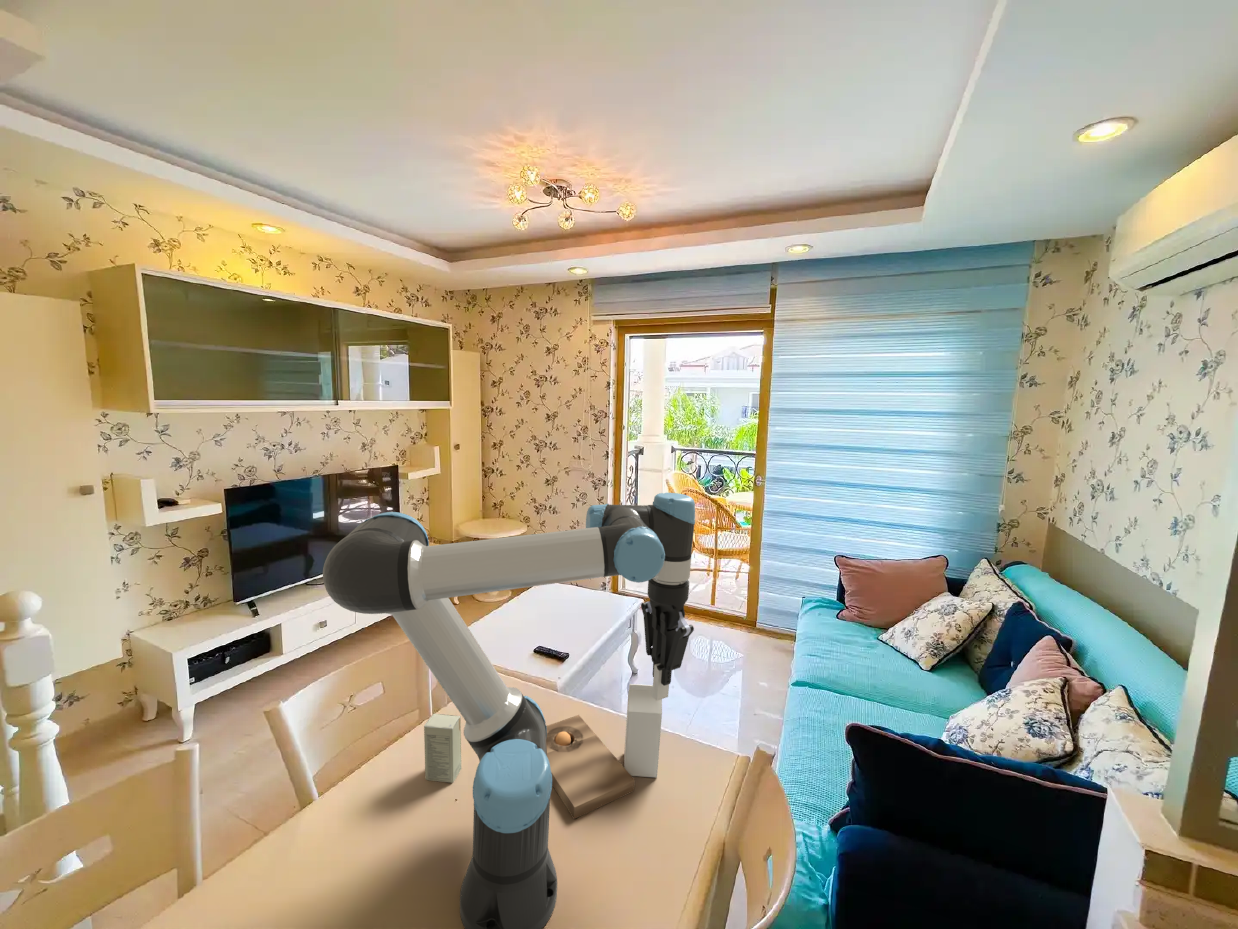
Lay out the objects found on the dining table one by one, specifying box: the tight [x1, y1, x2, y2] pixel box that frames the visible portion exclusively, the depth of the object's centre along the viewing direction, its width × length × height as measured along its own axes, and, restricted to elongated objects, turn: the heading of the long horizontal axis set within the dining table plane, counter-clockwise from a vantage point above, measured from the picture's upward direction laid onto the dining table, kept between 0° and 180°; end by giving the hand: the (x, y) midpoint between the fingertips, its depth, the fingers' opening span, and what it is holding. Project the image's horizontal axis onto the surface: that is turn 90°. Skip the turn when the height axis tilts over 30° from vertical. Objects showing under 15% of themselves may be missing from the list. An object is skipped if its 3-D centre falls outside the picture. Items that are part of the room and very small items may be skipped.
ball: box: [555, 732, 571, 746], centre depth 114 cm, size 4×4×4 cm
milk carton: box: [623, 683, 663, 778], centre depth 109 cm, size 7×7×19 cm
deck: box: [546, 714, 636, 820], centre depth 109 cm, size 24×14×2 cm, turn 33°
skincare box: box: [423, 713, 462, 783], centre depth 104 cm, size 6×4×12 cm
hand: (660, 696), depth 95 cm, fingers closed
